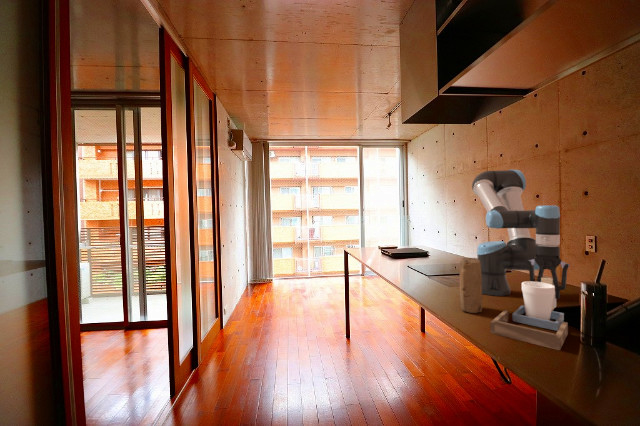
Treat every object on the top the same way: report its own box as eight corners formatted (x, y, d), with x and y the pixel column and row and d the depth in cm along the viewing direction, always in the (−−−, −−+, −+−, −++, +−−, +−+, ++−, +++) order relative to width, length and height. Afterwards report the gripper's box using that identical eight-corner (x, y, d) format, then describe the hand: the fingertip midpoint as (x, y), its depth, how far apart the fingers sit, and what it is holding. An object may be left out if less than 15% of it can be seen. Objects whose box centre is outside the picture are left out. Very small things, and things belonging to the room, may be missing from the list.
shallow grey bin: (504, 319, 109) (504, 308, 109) (567, 333, 97) (567, 321, 97) (490, 332, 98) (490, 320, 98) (559, 350, 86) (559, 336, 86)
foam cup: (556, 329, 100) (555, 289, 100) (522, 324, 105) (521, 286, 105) (553, 320, 108) (553, 283, 108) (521, 315, 113) (521, 280, 113)
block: (483, 315, 114) (482, 261, 114) (460, 312, 117) (460, 260, 117) (479, 306, 124) (478, 256, 124) (459, 304, 127) (458, 256, 127)
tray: (529, 304, 125) (529, 274, 125) (569, 311, 116) (569, 279, 116) (512, 321, 107) (512, 286, 107) (557, 331, 98) (557, 293, 98)
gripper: (520, 244, 122) (520, 303, 123) (573, 248, 111) (573, 312, 111) (524, 242, 128) (524, 299, 128) (576, 246, 116) (576, 308, 116)
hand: (547, 305), depth 120 cm, fingers closed on tray, 3 cm apart
